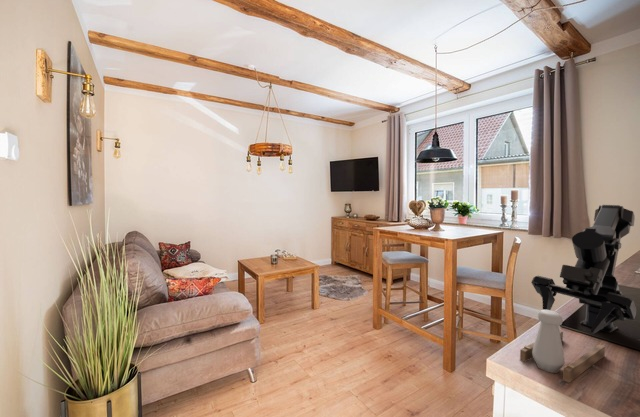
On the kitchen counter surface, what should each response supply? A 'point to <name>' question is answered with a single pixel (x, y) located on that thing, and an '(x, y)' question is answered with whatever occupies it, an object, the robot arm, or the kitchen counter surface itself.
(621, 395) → the kitchen counter surface
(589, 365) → the pair of wooden rails
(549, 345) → the salt shaker
